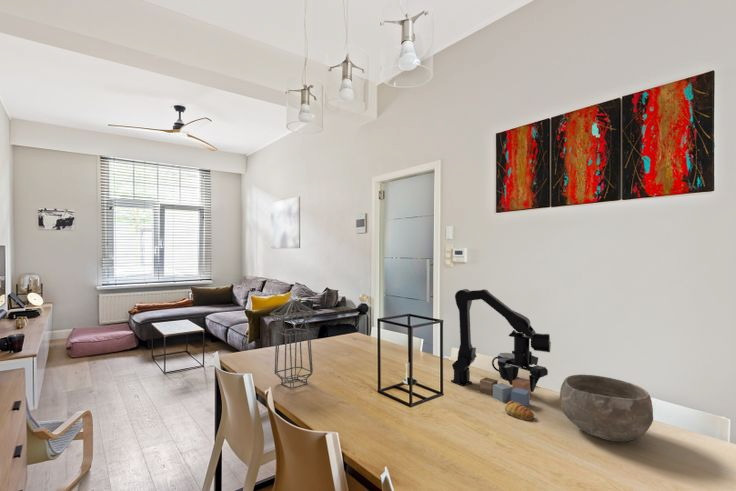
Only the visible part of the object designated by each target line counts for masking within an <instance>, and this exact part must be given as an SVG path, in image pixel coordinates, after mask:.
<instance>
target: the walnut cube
mask: <svg viewBox="0 0 736 491" xmlns="http://www.w3.org/2000/svg"><path fill="white" fill-rule="evenodd" d="M494 384H499V380H497V379H494V378H490V377H484V378H482V379H480V380H479V393H480V394H483V395H486V396H490V397H493V385H494Z"/></svg>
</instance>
